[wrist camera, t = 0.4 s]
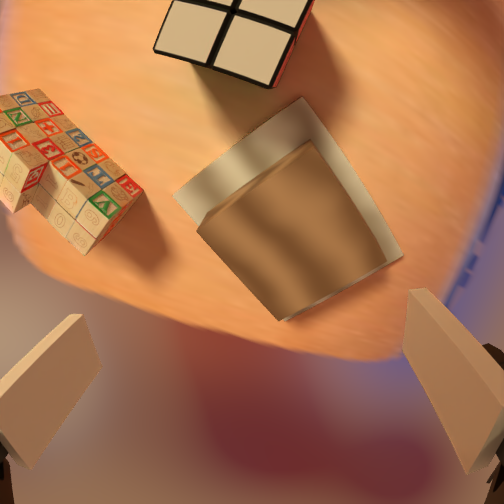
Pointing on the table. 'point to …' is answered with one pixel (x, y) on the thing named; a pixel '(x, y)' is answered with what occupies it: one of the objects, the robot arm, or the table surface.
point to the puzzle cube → (234, 35)
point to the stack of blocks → (59, 171)
